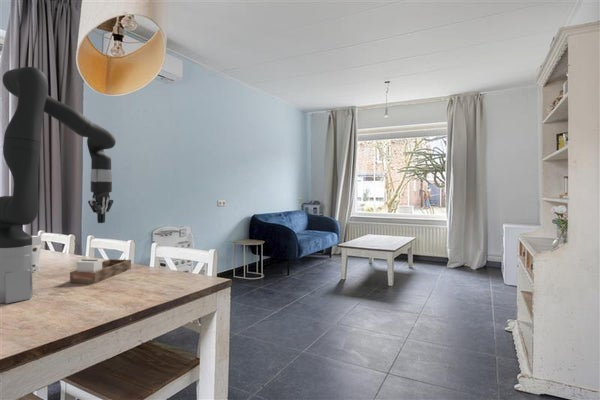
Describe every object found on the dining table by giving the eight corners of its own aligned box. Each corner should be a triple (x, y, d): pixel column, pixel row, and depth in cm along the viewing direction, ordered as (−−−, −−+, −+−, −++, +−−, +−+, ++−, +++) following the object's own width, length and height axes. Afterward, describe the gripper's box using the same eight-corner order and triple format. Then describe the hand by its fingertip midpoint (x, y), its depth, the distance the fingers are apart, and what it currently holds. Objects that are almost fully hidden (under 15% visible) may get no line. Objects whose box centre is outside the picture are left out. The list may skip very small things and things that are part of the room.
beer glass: (16, 272, 141) (15, 237, 141) (33, 268, 148) (33, 235, 147) (28, 273, 139) (27, 238, 139) (45, 270, 146) (44, 235, 145)
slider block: (85, 274, 134) (85, 258, 133) (102, 274, 133) (102, 258, 133) (76, 277, 129) (76, 260, 128) (93, 277, 128) (93, 261, 128)
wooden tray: (109, 268, 151) (109, 259, 151) (130, 268, 151) (130, 259, 151) (70, 282, 127) (69, 272, 127) (95, 283, 127) (95, 272, 127)
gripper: (103, 181, 144) (103, 221, 144) (81, 180, 131) (81, 224, 131) (119, 181, 143) (119, 221, 144) (99, 180, 130) (99, 224, 130)
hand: (101, 222), depth 137 cm, fingers closed
